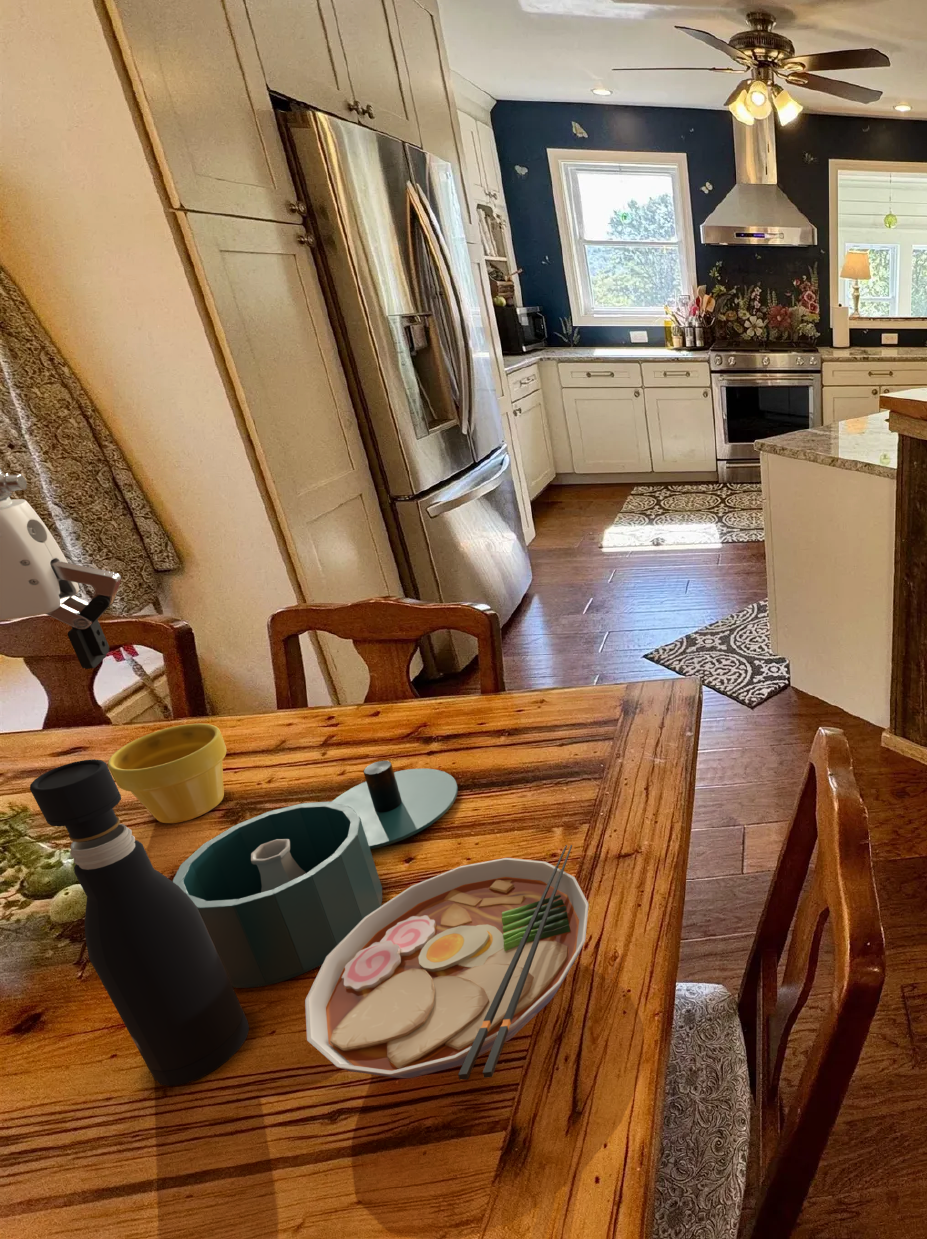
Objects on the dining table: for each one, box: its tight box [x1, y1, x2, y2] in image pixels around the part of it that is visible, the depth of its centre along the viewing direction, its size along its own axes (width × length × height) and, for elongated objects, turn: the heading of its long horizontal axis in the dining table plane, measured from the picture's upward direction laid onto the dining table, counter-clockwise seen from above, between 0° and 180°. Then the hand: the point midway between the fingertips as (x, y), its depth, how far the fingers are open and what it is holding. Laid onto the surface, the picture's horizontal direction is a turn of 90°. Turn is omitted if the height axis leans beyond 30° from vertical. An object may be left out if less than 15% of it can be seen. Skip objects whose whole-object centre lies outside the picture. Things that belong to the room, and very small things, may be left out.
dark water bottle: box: [29, 758, 250, 1087], centre depth 57 cm, size 6×6×30 cm
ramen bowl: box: [304, 844, 589, 1081], centre depth 66 cm, size 25×23×8 cm
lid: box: [331, 760, 459, 850], centre depth 91 cm, size 16×16×7 cm
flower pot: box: [107, 723, 228, 824], centre depth 90 cm, size 10×10×10 cm
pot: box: [171, 801, 383, 989], centre depth 73 cm, size 15×15×10 cm
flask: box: [251, 839, 306, 892], centre depth 73 cm, size 7×7×10 cm
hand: (23, 673), depth 64 cm, fingers open, 9 cm apart
